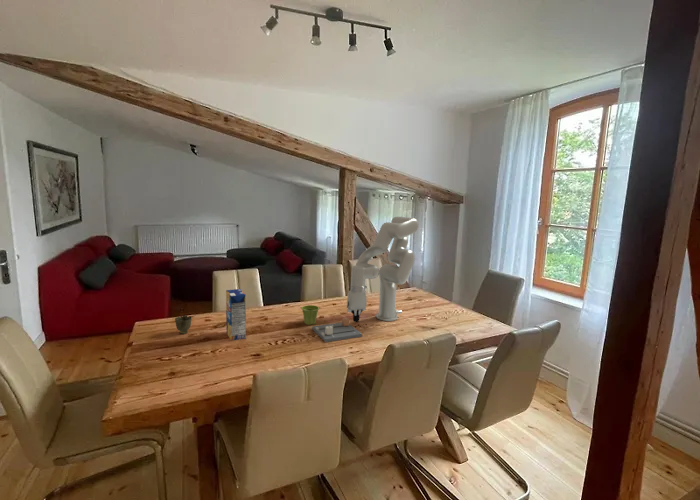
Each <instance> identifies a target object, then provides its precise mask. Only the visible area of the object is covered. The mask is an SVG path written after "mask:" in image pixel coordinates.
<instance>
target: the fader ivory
mask: <svg viewBox="0 0 700 500" xmlns="http://www.w3.org/2000/svg"><path fill="white" fill-rule="evenodd" d="M325 334H327V335H331V334H333V327H332V326H326V327H325Z"/></svg>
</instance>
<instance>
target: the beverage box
mask: <svg viewBox="0 0 700 500" xmlns="http://www.w3.org/2000/svg"><path fill="white" fill-rule="evenodd" d="M246 296H247V295H246V293H245V292H244V291H243V290H242V289H241V288H236V289H235V288H234V289H226V290H225V304H226V305H225V308H226V309H225V311H226V313H225V314H226V321H225V322H226V324H225V325H226V334H227V336H228V338H229V339H230V341H239V340H240V341H241V340H246V339H247V306H246V305H247V299H246V298H247V297H246Z"/></svg>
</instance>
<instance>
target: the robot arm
mask: <svg viewBox="0 0 700 500" xmlns="http://www.w3.org/2000/svg"><path fill="white" fill-rule="evenodd" d="M418 229H419V220H417V219H416V218H413V217H406V216H394V217H393V218H392V219H391V222H389V221H388V222H384V223H382V225H381V226H380V228H379V230H378V233H377V235H376V237H375V239H374V241H373V243H372V245H370V246H368V248H366V249H364V251H363V252H362V253H361V254H360V256H359V257H358V259H357V262H356V264H355V265H352V267H351V277H350V290H348V293H347V298H346V299H347V300H346V308H347V310H346V312H348V313H351V314H352V320H353V322H354V323H355V324H356V323H360V315H361V313H362V312H364V311H366V310H367V302H368V301H367V292H366V289H367V287H368V286H367V285H366V280H372V279H376V278H377V277H378V276H379V298H378V299H379V301H378V312H377V313H376V314H375V318H376V319H377V320H378V321H379V320H380V321H384V322H394V321H397V320H398V315H401V314H402V313H403V311H402V310H401V309H399V310H398V309H396V306H397V305H396V302H397V301H396V300H397V284H398V285H404V284H405V283H406V282H407V281H408V279H409V277H410V274H411V271H412V269H413V266H414V264H415V259H416V258H415V252H414V251H412V249H411V250H410V249H408V248H407V247H408V244H409V236H411V235H413V234H414V233H416V232H417V230H418ZM392 240H393V241H392ZM391 242H392V243H391ZM390 245H391V246H390ZM389 247H390V248H389ZM388 249H389V252H388V254H387V260H388V262H390V263H392V264H388V263H387V264H386V263H385V264H383V265H381V266H380V268H379V267H378V266H377V265H374V264H371V263H369V262H370V260H371V259H372V258H374V257H376V256H379V255H381V254H385V253H386V252H387V251H388ZM394 264H395V265H394ZM398 265H399V266H398Z"/></svg>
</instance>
